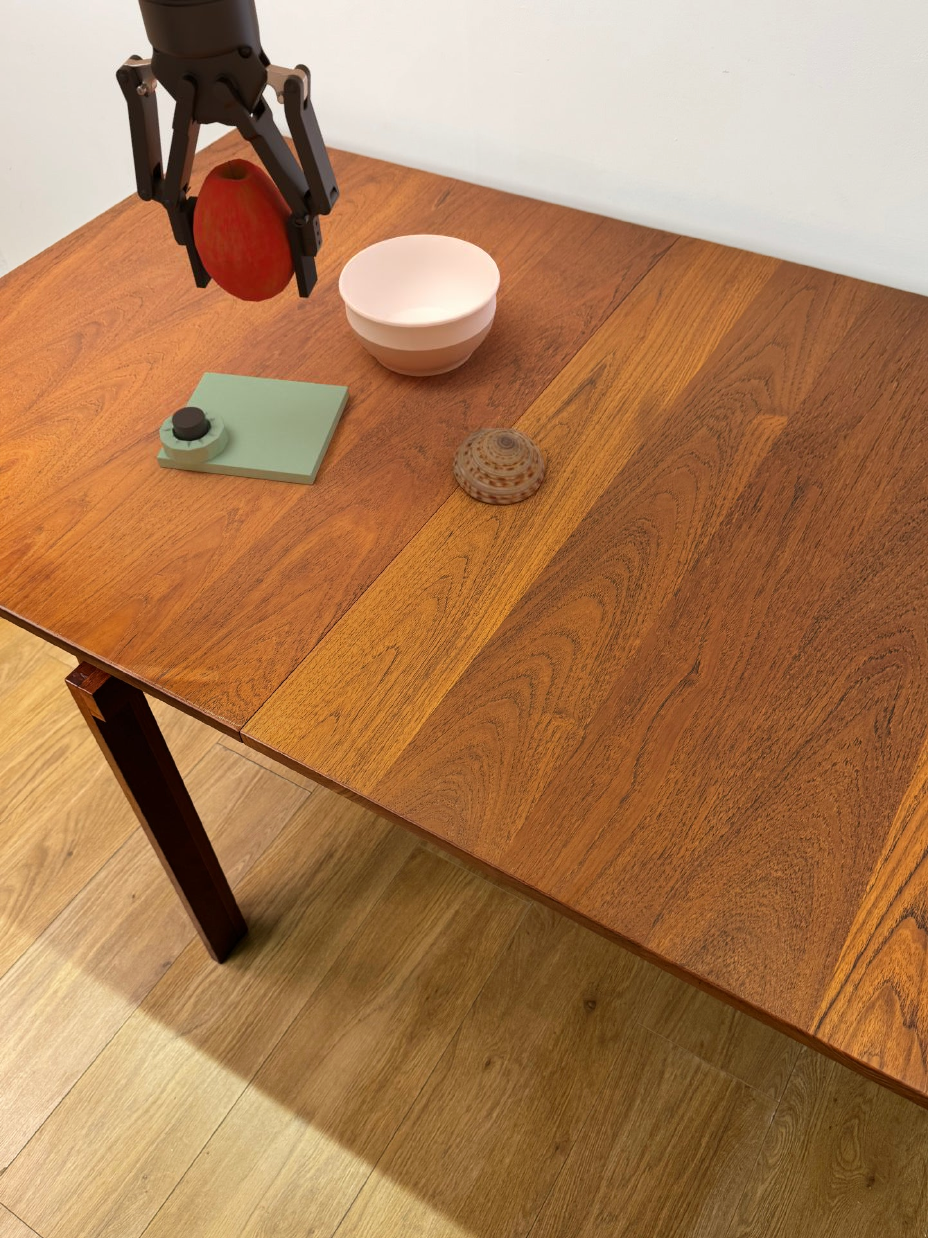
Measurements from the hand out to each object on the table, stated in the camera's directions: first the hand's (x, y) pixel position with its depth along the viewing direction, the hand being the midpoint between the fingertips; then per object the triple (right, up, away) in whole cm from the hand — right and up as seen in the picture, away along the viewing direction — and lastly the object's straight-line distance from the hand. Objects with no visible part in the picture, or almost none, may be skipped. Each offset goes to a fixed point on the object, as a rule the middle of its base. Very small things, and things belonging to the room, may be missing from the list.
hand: (257, 283), depth 83 cm
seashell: (+20, -14, +10) cm, 27 cm away
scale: (-3, -10, +14) cm, 17 cm away
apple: (0, 0, 0) cm, 0 cm away
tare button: (-8, -10, +10) cm, 17 cm away
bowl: (+13, +1, +22) cm, 26 cm away
